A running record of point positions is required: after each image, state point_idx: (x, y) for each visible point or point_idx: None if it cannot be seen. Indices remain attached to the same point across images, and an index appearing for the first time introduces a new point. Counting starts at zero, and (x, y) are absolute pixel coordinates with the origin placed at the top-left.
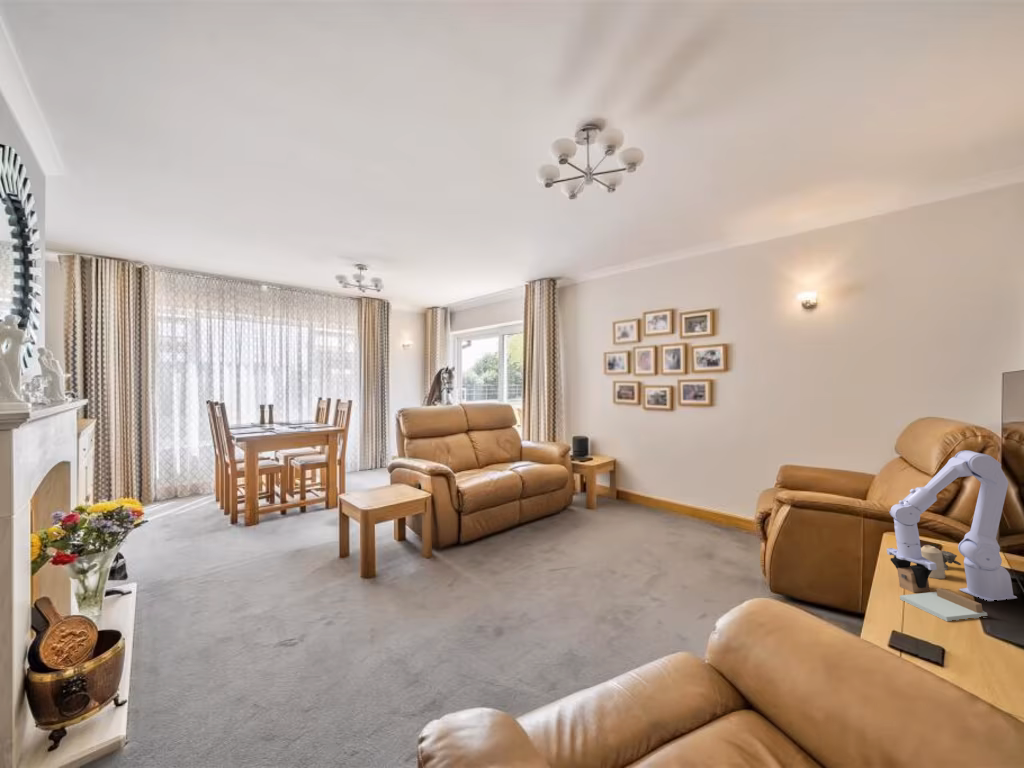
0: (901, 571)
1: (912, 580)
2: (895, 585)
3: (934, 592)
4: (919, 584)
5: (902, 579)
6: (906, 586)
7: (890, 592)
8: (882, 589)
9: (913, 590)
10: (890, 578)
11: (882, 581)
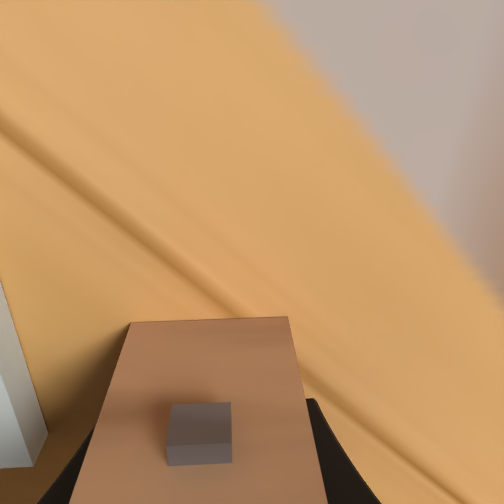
0: (248, 497)
1: (97, 438)
2: (323, 300)
3: (15, 445)
4: (85, 442)
5: (246, 389)
6: (202, 341)
7: (161, 89)
8: (266, 67)
9: (127, 339)
10: (470, 378)
11: (451, 261)
